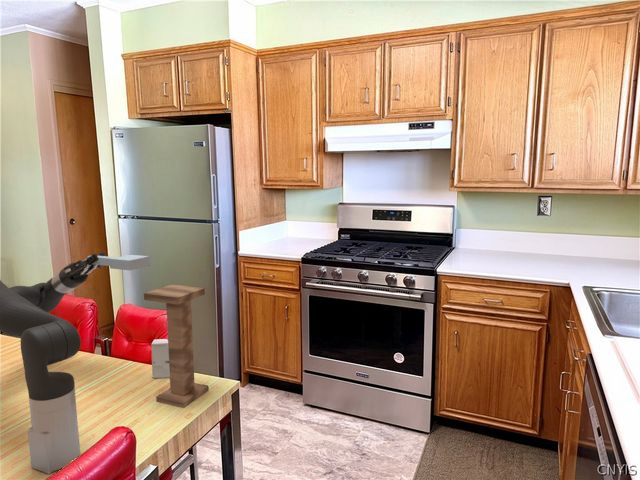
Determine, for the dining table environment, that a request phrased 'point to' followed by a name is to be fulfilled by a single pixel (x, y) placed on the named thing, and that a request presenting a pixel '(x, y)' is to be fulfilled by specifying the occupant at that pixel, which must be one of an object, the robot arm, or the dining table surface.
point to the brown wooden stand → (179, 343)
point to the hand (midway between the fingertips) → (100, 255)
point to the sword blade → (123, 262)
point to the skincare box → (160, 359)
